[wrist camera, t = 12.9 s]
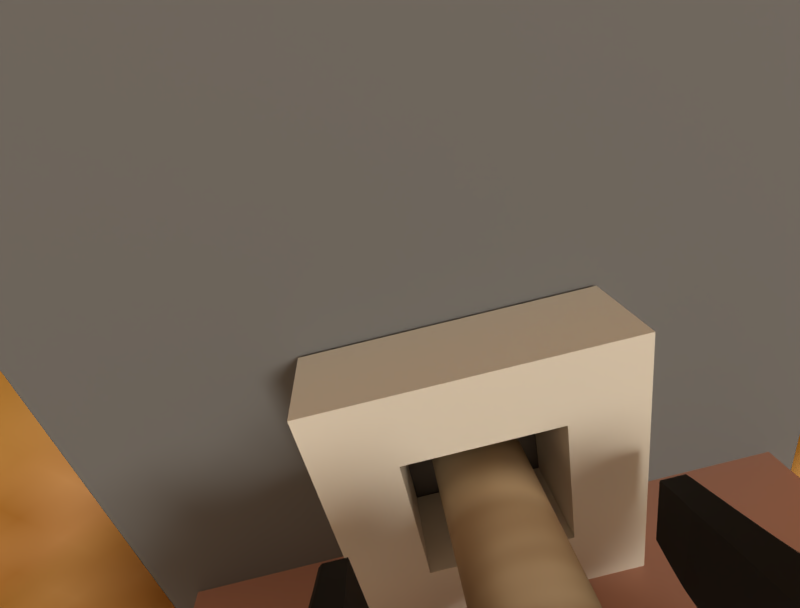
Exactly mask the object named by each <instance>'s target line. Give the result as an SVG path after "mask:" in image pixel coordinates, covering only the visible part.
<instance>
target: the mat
mask: <svg viewBox="0 0 800 608" xmlns="http://www.w3.org/2000/svg"><path fill="white" fill-rule="evenodd" d="M593 286H598V287H599V288H600V289H601V290H603V291H604V292H605V293H607V294H608V295H609V296H610V297H612V298H613V299H614V300H615V301H617V302H618V303H619V304H621V305H622V306H623V307H624V308H626V309H627V310H628V311H630V312H631V313H632V314H633V315H635V316H636V317H637V318H638V319H640V320H641V321H642V322H644V323H645V324H646V325H647V326H649V327H650V328H651V329H652V330H654V331H655V352H654V372H653V392H652V413H651V433H650V454H649V474H648V481H652V480H656V479H660V478H664V477H668V476H672V475H676V474H680V473H684V472H688V471H692V470H696V469H700V468H705V467H709V466H713V465H717V464H721V463H725V462H729V461H733V460H737V459H741V458H745V457H749V456H753V455H757V454H761V453H765V452H770V453H771V454H772V455H773V456H774V457H775V458H777V459H778V460H779V461H780V462H781V463H782V464H784V465H785V466H786V467H787V468H788V469H789V470H791V467H792V463H793V459H794V455H795V451H796V446H797V442H798V438H799V434H800V0H0V371H1V372H2V373H3V375H4V376H5V377H6V379H7V380H8V381H9V383H10V384H11V385H12V387H13V388H14V390H15V391H16V392H17V394H18V395H19V396H20V398H21V399H22V400H23V402H24V403H25V404H26V406H27V407H28V409H29V410H30V411H31V413H32V414H33V415H34V417H35V418H36V419H37V421H38V422H39V423H40V425H41V426H42V427H43V429H44V430H45V432H46V433H47V434H48V436H49V437H50V438H51V440H52V441H53V442H54V444H55V445H56V446H57V448H58V449H59V451H60V452H61V453H62V455H63V456H64V457H65V459H66V460H67V461H68V463H69V464H70V465H71V467H72V468H73V469H74V471H75V472H76V474H77V475H78V476H79V478H80V479H81V480H82V482H83V483H84V484H85V486H86V487H87V488H88V490H89V491H90V493H91V494H92V495H93V497H94V498H95V499H96V501H97V502H98V503H99V505H100V506H101V507H102V509H103V510H104V511H105V513H106V514H107V516H108V517H109V518H110V520H111V521H112V522H113V524H114V525H115V526H116V528H117V529H118V530H119V532H120V533H121V534H122V536H123V537H124V539H125V540H126V541H127V543H128V544H129V545H130V547H131V548H132V549H133V551H134V552H135V553H136V555H137V556H138V558H139V559H140V560H141V562H142V563H143V564H144V566H145V567H146V568H147V570H148V571H149V572H150V574H151V575H152V576H153V578H154V579H155V581H156V582H157V583H158V585H159V586H160V587H161V589H162V590H163V591H164V593H165V594H166V595H167V597H168V598H169V600H170V601H171V602H172V604H173V605H174V606H175V608H194V605H195V601H196V598H197V594H198V592H201V591H205V590H209V589H213V588H217V587H221V586H225V585H229V584H233V583H237V582H241V581H245V580H249V579H253V578H258V577H262V576H266V575H270V574H274V573H278V572H282V571H286V570H290V569H294V568H298V567H302V566H306V565H310V564H314V563H319V562H323V561H327V560H331V559H335V558H339V557H343V554H342V552H341V549H340V547H339V544H338V542H337V540H336V537H335V535H334V532H333V530H332V528H331V525H330V523H329V520H328V518H327V516H326V513H325V511H324V508H323V506H322V504H321V501H320V499H319V497H318V494H317V492H316V489H315V487H314V485H313V482H312V480H311V477H310V475H309V473H308V470H307V468H306V465H305V463H304V461H303V458H302V456H301V454H300V451H299V449H298V446H297V444H296V442H295V439H294V437H293V434H292V432H291V430H290V427H289V425H288V422H287V419H288V413H289V407H290V402H291V396H292V390H293V384H294V378H295V372H296V366H297V361H298V358H300V357H304V356H308V355H312V354H316V353H320V352H324V351H329V350H333V349H337V348H341V347H345V346H349V345H353V344H358V343H362V342H366V341H370V340H374V339H378V338H382V337H386V336H391V335H395V334H399V333H403V332H407V331H411V330H415V329H419V328H424V327H428V326H432V325H436V324H440V323H444V322H448V321H452V320H457V319H461V318H465V317H469V316H473V315H477V314H481V313H485V312H490V311H494V310H498V309H502V308H506V307H510V306H514V305H518V304H523V303H527V302H531V301H535V300H539V299H543V298H547V297H551V296H556V295H560V294H564V293H568V292H572V291H576V290H580V289H584V288H589V287H593ZM518 440H519V442H520V444H521V446H522V448H523V450H524V452H525V454H526V456H527V458H528V460H529V462H530V464H531V466H532V468H533V469H536V468H539V465H538V455H537V446H536V436H535V434H532V435H528V436H523V437H519V438H518ZM408 467H409V471H410V475H411V478H412V482H413V485H414V489H415V493H416V496H417V498H418V497H422V496H426V495H430V494H434V493H438V492H439V488H438V484H437V480H436V475H435V471H434V467H433V463H432V459H429V460H425V461H421V462H417V463H413V464H409V465H408Z"/></svg>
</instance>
